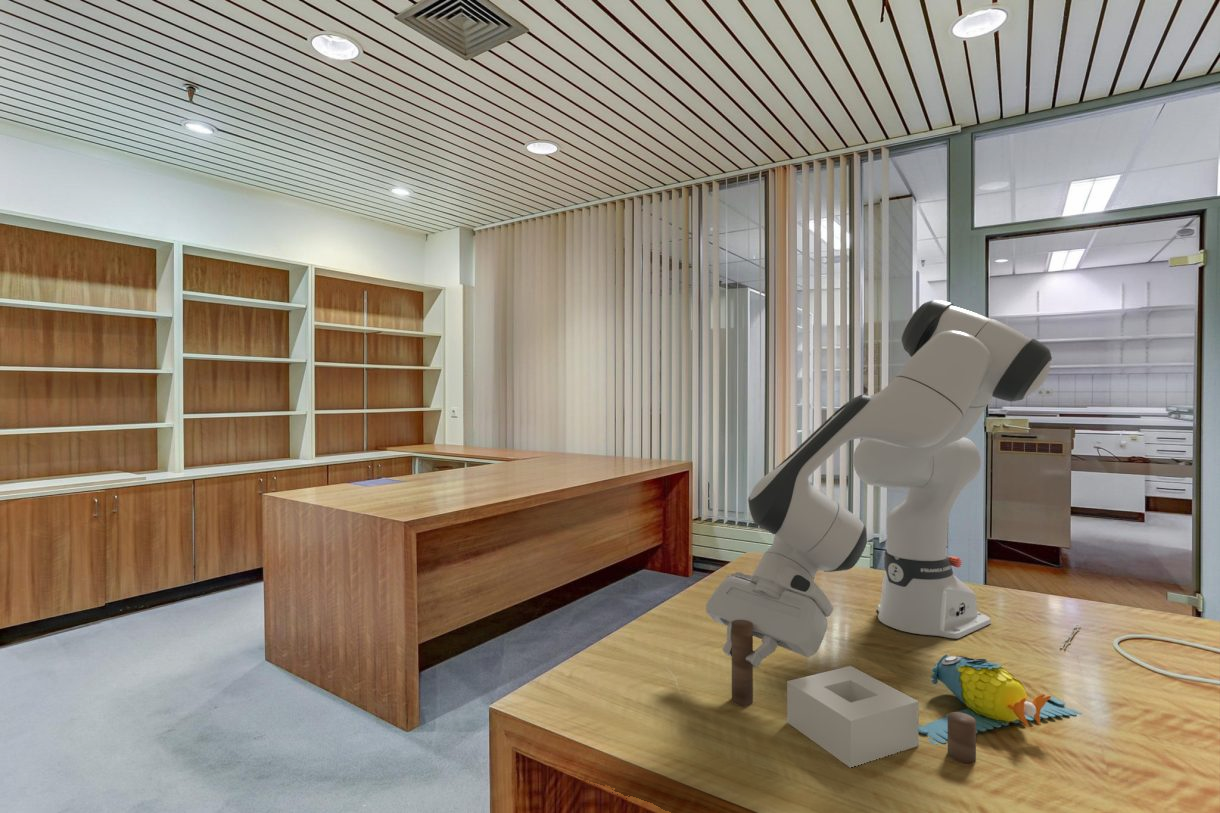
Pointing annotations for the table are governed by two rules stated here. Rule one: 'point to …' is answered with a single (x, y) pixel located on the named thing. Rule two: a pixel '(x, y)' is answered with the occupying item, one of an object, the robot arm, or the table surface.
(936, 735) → the blue yellow bird figure
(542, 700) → the table surface
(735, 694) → the long pin
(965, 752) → the short pin
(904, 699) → the hole block
